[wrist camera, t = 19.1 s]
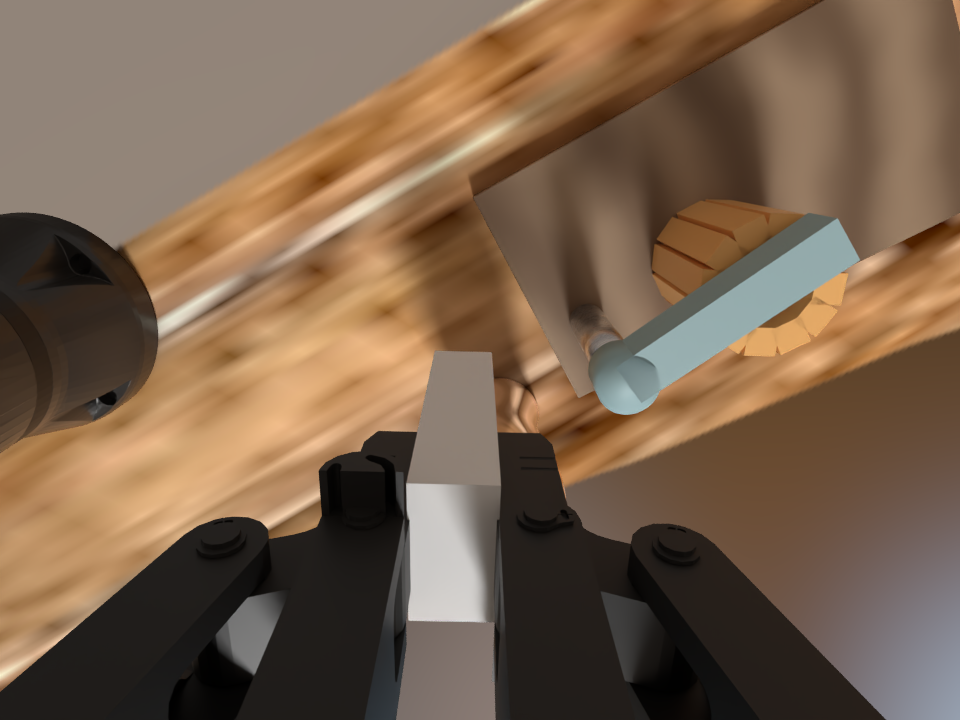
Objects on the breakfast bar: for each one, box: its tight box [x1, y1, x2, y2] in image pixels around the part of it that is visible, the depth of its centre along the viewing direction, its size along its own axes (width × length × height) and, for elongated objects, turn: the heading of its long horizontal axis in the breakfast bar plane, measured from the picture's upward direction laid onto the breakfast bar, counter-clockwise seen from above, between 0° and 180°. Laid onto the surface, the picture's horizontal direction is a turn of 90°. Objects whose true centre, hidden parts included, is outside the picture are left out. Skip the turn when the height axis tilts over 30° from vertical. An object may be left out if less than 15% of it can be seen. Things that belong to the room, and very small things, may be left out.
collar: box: [651, 199, 848, 356], centre depth 35 cm, size 8×8×9 cm
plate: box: [473, 0, 960, 398], centre depth 39 cm, size 30×16×2 cm, turn 118°
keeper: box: [588, 213, 860, 415], centre depth 30 cm, size 14×3×2 cm, turn 127°
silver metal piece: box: [570, 304, 623, 361], centre depth 36 cm, size 11×2×9 cm, turn 118°
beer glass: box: [494, 378, 566, 498], centre depth 38 cm, size 7×7×15 cm
